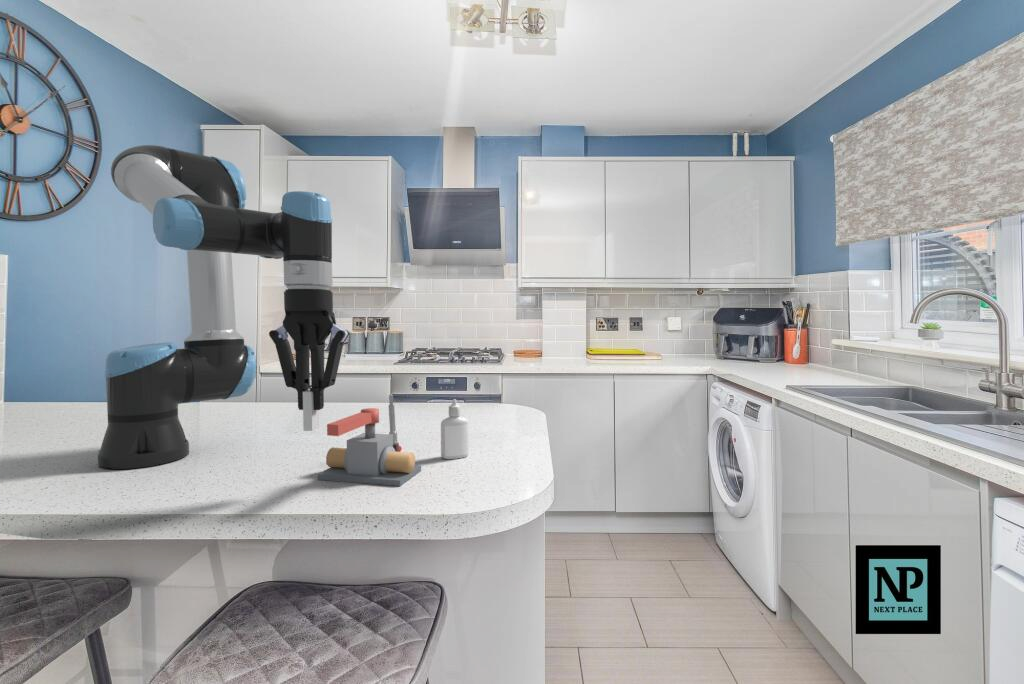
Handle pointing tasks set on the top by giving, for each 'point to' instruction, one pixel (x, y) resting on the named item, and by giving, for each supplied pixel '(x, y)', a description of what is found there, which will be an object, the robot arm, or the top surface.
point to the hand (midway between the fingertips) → (311, 428)
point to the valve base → (370, 461)
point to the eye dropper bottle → (454, 434)
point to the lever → (353, 422)
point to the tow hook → (393, 424)
